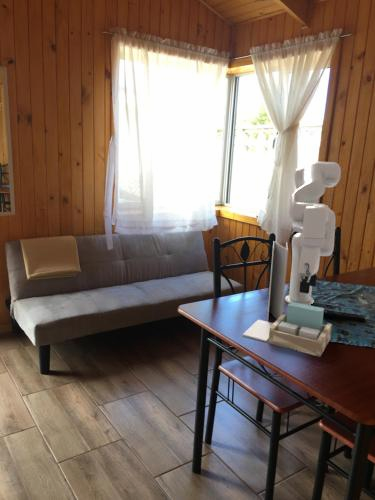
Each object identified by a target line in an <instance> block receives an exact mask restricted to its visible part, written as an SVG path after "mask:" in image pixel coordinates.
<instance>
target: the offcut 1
mask: <svg viewBox="0 0 375 500" xmlns="http://www.w3.org/2000/svg"><path fill="white" fill-rule="evenodd" d="M278 331H280V332H284V333H288V334H292V335H296V336H297V333H298V325H295V324H290V323H286V322H281V323H280V324H279V325H278Z"/></svg>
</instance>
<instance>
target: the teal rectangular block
mask: <svg viewBox="0 0 375 500" xmlns="http://www.w3.org/2000/svg"><path fill="white" fill-rule="evenodd" d="M324 312H325V308H323V307H318V306H314V305H305V304H301V303H296V302H290V303H287V309H286V314H287V319H286V323H290V324H295V325H298V326H299V327H302V326H303V327H307V328H312V329H316V330H320V331H322V325H323V322H324Z"/></svg>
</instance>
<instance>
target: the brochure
mask: <svg viewBox="0 0 375 500" xmlns="http://www.w3.org/2000/svg"><path fill="white" fill-rule="evenodd" d="M272 243H273V244H272V254H271V255H272V256H271V266H270V267H271V268H270V278H269V280H270V281H269V289H268V290H269V292H268V293H269V294H268V305H267V320H266V321H267V322H269V314H271V315H272V316H273V317H274V319H275V320H277V319H278V318H279V317H280V316H281V315H282V314H283V313H284V312H283V310H284V300H285V289H286V288H285V287H286V279H287V278H286V277H287V269H288V268H287V265H288V256H289V248H288V247H289V246H288V242H287V241H286V242H285V247H284V246H283V245H282V244H281V245H280V244H279V243H278V242H276V241H274V240H273V242H272Z"/></svg>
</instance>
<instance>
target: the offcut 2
mask: <svg viewBox="0 0 375 500" xmlns="http://www.w3.org/2000/svg"><path fill="white" fill-rule="evenodd" d="M319 334H320V330H316V329H312V328H307V327H303V326H302V328H301V329H300V330H299V336H300V337H304V338H308V339H313V340H318V338H319Z"/></svg>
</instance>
